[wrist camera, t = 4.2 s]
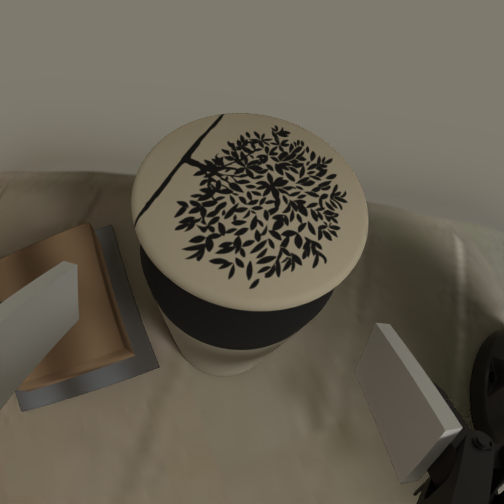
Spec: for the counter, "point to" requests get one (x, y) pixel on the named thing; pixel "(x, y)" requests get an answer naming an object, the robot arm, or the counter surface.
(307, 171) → the travel mug
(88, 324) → the plinth
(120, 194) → the counter surface
